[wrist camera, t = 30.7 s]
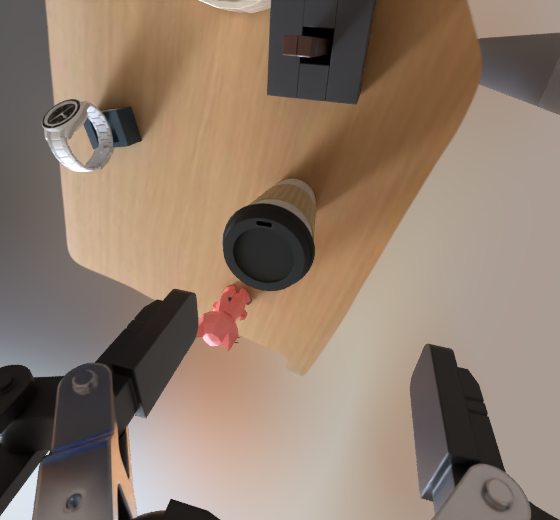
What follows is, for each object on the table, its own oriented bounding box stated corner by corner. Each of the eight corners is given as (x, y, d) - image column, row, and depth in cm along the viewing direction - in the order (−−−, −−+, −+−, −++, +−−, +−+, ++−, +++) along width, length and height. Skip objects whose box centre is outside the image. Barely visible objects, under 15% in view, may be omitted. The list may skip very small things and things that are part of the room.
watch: (125, 90, 44) (60, 101, 35) (145, 153, 48) (92, 178, 39) (89, 95, 46) (18, 107, 36) (112, 156, 50) (53, 181, 40)
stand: (376, -4, 33) (377, -14, 28) (359, 95, 38) (356, 104, 32) (288, -9, 35) (271, -19, 29) (282, 87, 40) (266, 95, 34)
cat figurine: (215, 301, 60) (184, 352, 50) (219, 271, 56) (185, 319, 46) (254, 314, 59) (229, 368, 49) (260, 283, 55) (235, 335, 46)
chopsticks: (335, 40, 36) (312, 36, 23) (334, 53, 37) (310, 57, 23) (317, 38, 36) (283, 34, 23) (315, 51, 37) (282, 54, 24)
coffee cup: (257, 227, 50) (218, 287, 38) (258, 160, 45) (214, 204, 32) (324, 237, 48) (307, 303, 36) (334, 169, 43) (317, 219, 31)
